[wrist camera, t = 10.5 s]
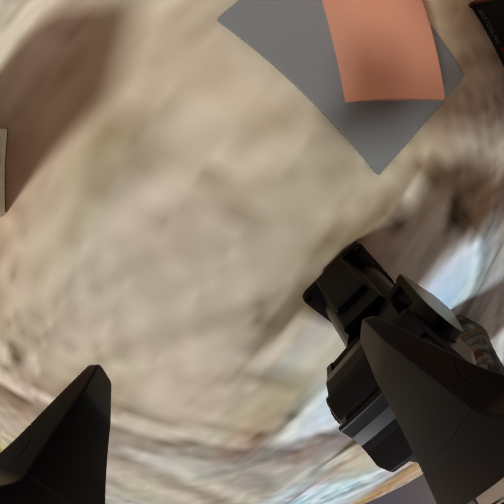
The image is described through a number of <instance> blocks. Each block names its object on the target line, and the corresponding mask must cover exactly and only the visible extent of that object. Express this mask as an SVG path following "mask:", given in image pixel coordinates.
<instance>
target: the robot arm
mask: <svg viewBox="0 0 504 504" xmlns="http://www.w3.org/2000/svg"><path fill="white" fill-rule="evenodd" d="M357 247H359V248H358V250H357V251H355V249H356V248H357ZM396 281H397V282H396V283H394V281H393V280H392V279H391V278H390V277H389V275H388V274H387V273H386V272H385V271H384V270H383V268H382V267H381V266H380V265H379V264H378V263H377V262H376V260H375V259H374V258H373V257H372V256H371V255H370V254H369V253H368V251H367V250H366V249H365V248H364V247H363V246H362V245H361V244H360V243H358V242H356V243H353V244H352V245H351V246H350V247H349V248H348V249H347V250H346V251H345V252H344V254H343V255H342V256H341V257H340V258H338V259H337V260H336V261H335V262H334V263H333V264H332V265H331V266H330V267H329V268H328V269H327V270H326V271H325V272H324V273H323V274H322V275H321V276H320V277H319V278H318V279H317V281H316V282H315V283H314V284H313V285H312V286H311V287H310V288H309V289H308V290H307V291H306V292H305V293H304V294H303V296H302V297H303V300H304V301H305V303H307V304H308V305H309V306H311V307H312V308H313V309H314V310H316V311H317V312H318V313H320V314H321V315H322V316H324V317H325V318H326V319H328V320H329V321H330V322H331V323H332V324H333V325H334V327H335V329H336V331H337V332H338V334H339V336H340V338H341V339H342V341H343V343H344V345H345V346H346V349H345V350H344V351H343V352H342V353H341V354H340V356H339V357H338V358H337V359H336V360H335V361H334V363H331V364H330V365H329V366H328V367H327V383H326V384H327V389H328V397H327V398H326V401H327V404H328V406H329V408H330V411H331V414H332V415H333V417H334V418H335V420H336V421H337V422H338V423H339V424H340V425H341V426H340V427H339V430H340V431H341V432H343V433H344V434H346V435H348V436H349V437H351V438H352V439H353V440H355V441H356V442H357V443H358V444H359V445H360V446H361V447H362V448H363V449H364V450H365V451H366V452H367V453H368V455H369V456H370V457H371V458H372V460H373V461H374V462H375V463H376V465H377V466H379V467H381V468H383V469H385V470H388V471H390V472H394V471H396V470H398V469H399V468H400V467H402V466H403V465H405V464H406V463H407V462H409V461H410V462H416V463H419V466H420V468H421V470H422V472H424V473H423V474H424V476H425V479H426V481H427V483H428V485H429V487H430V489H431V492H432V494H433V496H434V498H435V501H436V503H437V504H468V503H469V502H471V501H472V502H473V503H474V504H504V375H502V374H499V373H496V372H494V371H491V370H488V369H486V368H483V367H480V366H478V365H476V361H475V357H474V353H473V351H472V350H471V349H470V348H469V347H468V346H467V345H466V344H465V343H464V342H463V341H462V340H461V339H460V338H459V336H460V335H461V334H462V332H463V329H462V327H461V325H460V324H459V322H458V320H457V318H456V317H455V315H454V313H453V312H452V311H451V310H450V309H449V308H448V307H447V306H446V305H444V304H443V303H442V302H441V301H440V300H439V299H438V298H436V297H435V296H434V295H433V294H431V293H430V292H428V291H427V290H425V289H423V288H422V287H420V286H419V285H417V284H416V283H414V282H413V281H411V280H410V279H408V278H406V277H405V276H403V275H402V274H400V275H399V276H398V278H397V279H396ZM394 284H395V285H394ZM308 296H311V297H310V298H307V297H308ZM110 419H111V382H110V380H109V378H108V376H107V375H106V373H105V372H104V370H103V368H102V367H101V366H100V365H89V366H88V367H87V368H86V369H85V370H84V371H83V372H82V373H81V374H80V375H79V376H78V377H77V378H76V379H75V380H74V381H73V382H72V383H71V384H70V385H69V386H68V387H67V388H66V389H65V390H64V391H63V392H62V393H61V394H60V395H59V396H58V397H57V398H56V399H55V400H54V401H53V402H52V403H51V404H50V405H49V406H48V407H47V408H46V409H45V410H44V411H43V412H42V413H41V414H40V415H39V416H38V417H37V418H36V419H35V420H34V421H33V422H32V423H31V425H29V426H28V427H27V428H26V429H25V430H24V431H23V432H22V433H21V434H20V435H19V436H18V437H17V438H16V439H15V440H14V441H13V442H12V443H11V444H10V445H9V446H8V447H6V448H5V449H4V450H3V451H2V452H1V453H0V504H105V486H106V467H107V453H108V442H109V432H110Z"/></svg>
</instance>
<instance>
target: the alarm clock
mask: <svg viewBox="0 0 504 504" xmlns="http://www.w3.org/2000/svg"><path fill="white" fill-rule="evenodd" d="M469 6H470V8H472V9H473V10H474V12H475V14H476V15H477V17H478V18H479V20H480V22H481V24H482V25H483V27H484V29H485V30H486V32H487V34H488V36H489V38H490V40H491V41H492V43H493V45H494V47H495V49H496V51H497V53H498V55H499V57H500V60H501V62H502V64H503V66H504V0H475V1H473V2H472V3H470V4H469Z"/></svg>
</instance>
